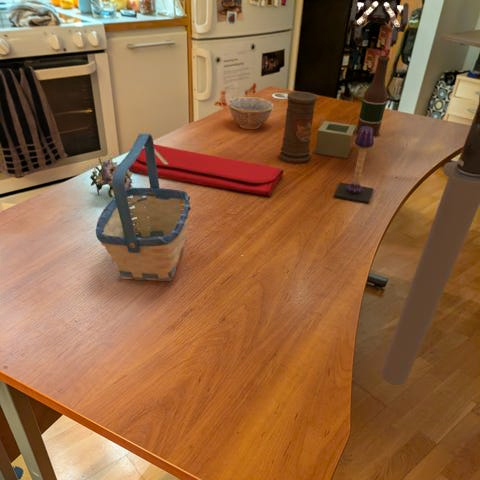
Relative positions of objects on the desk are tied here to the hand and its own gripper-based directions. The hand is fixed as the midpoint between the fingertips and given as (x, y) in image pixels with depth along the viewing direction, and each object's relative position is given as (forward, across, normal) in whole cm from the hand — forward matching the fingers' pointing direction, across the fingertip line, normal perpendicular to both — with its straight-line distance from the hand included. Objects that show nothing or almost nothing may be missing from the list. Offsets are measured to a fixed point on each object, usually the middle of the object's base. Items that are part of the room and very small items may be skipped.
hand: (375, 43), depth 116 cm
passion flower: (+48, -60, -1) cm, 77 cm away
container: (+20, -17, +26) cm, 37 cm away
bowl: (+2, -35, +44) cm, 56 cm away
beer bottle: (-1, +7, +48) cm, 48 cm away
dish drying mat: (+34, -40, +13) cm, 54 cm away
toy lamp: (+35, +1, +11) cm, 36 cm away
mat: (+35, +1, +11) cm, 37 cm away
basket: (+67, -42, -21) cm, 82 cm away
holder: (+13, -5, +33) cm, 36 cm away
